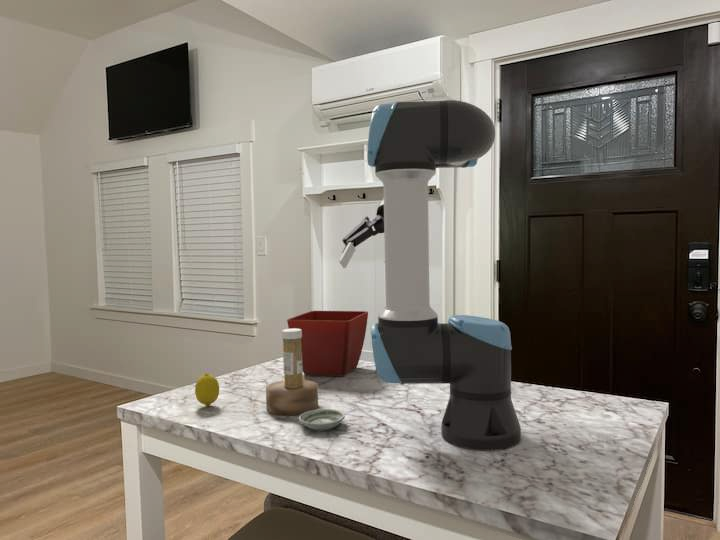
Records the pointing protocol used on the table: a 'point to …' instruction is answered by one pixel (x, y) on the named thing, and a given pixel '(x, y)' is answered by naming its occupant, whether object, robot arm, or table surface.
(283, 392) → the walnut pedestal
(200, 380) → the lemon
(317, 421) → the saucer
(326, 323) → the plant pot
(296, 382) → the sprinkles bottle
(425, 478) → the table surface
